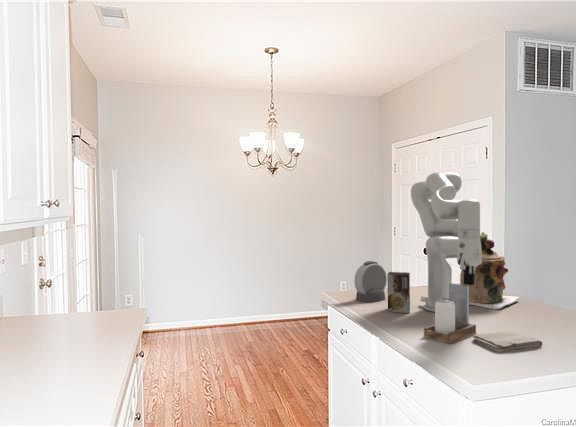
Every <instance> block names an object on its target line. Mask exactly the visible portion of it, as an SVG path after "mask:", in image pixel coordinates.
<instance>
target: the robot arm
mask: <svg viewBox="0 0 576 427" xmlns="http://www.w3.org/2000/svg"><path fill="white" fill-rule="evenodd" d="M462 184H463V181H462V179H461V176H460V175H459V174H458V173H457V172H456V173H455V172H433V173H431V174H428V175H427V177H426V179H425V181H424V180H423V181H418V182H415V183H414V184H413V185H412V186H411V188H410V197H411V198H410V199H411V202H412V205H413V206H414V208H415V209H416V211H417V213H418V215H419V218H420V221H421V225H422V227H423V231H424V234H425V235H426V236H427V237H428V239H426V242H425V251H426V257H427V296H422V295H421V297H420V302H422V303H425V304H424V306H423V308H424V309H425V310H426V311H428V312H432V313H435V303H436V301H437V300H436V299H438V298H447V299H449V283H452V279H453V278H452V272H453V271H452V267H451V265H450V263H448V261H447V259H456V262H457V265H459V269H460V270H461V269H462V270H463V273H464V284H466V285H474V273H475V268H476V267H477V266H478V265H480V264H481V263H482V248H481V241H480V235H481V203H480V201H479V200H477V199H455V198H456V195H457V193H458V192H460V190H461V188H462ZM465 264H467V265H465Z"/></svg>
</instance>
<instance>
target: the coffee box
mask: <svg viewBox="0 0 576 427" xmlns="http://www.w3.org/2000/svg"><path fill="white" fill-rule="evenodd" d="M386 276H387V312H388V313H389V312H390V313H400V314H401V313H406V314H410V312H411V291H410V290H411V282H410V281H411V279H410V278H411V273H410V272H404V271H403V272H399V271H388V273H386Z"/></svg>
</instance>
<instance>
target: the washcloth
mask: <svg viewBox="0 0 576 427" xmlns="http://www.w3.org/2000/svg"><path fill="white" fill-rule="evenodd" d="M472 338H473V339H472V342H475V343H476V344H478V345H479V346H482V347H484V348H486V349H489V350H491V351H493V352H496V353H504V352H505V353H506V352H513V351H522V350H530V349H537V348H542V346H543V341H541V340H539V339H536V338H533V337H531V336H527V335H524V334H522V333H519V332H516V331H512V330H509V331H496V332H489V333H481V334H480V333H478V334H474V335H472Z"/></svg>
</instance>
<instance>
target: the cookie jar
mask: <svg viewBox="0 0 576 427" xmlns="http://www.w3.org/2000/svg"><path fill="white" fill-rule="evenodd" d="M480 241H481V248H482V263H481V264H480V265H478V266H477V267H476V268H475V273H474V285H466V284H464V273H463V270H462V269H460V274H459V278H460V279H459V283H460V284H459V285H465V286H469V306H470V305H471V306H476V307H481V308H486V309H491V310H499V309H502V308H504V307H505V306H509V305H511V304H514V303H517V302H518V301H519V300H520V296H512V295H504V294H503V293H504V290H505V289H506V285H505V279H504V278H505V275H506V274H507V273H508V272H509V269H508V268H507V267H505V265H506V261H505V257H504V255H499V254H498V253H497V252H496V251H494V250H493V248H494V247H495V242H494V240H492V239H488V234H486V233H485V232H483V231H482V232H480ZM465 265H467V264H465Z"/></svg>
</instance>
